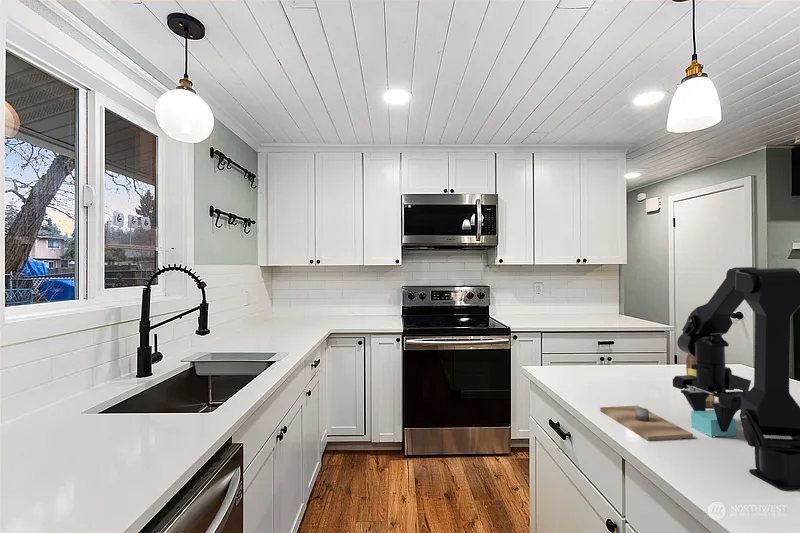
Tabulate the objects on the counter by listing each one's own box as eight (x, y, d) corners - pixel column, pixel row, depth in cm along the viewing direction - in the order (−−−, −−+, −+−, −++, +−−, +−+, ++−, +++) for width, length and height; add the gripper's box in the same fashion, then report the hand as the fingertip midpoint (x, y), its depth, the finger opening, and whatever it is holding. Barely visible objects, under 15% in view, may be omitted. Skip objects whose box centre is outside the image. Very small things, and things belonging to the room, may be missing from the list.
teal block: (735, 435, 94) (735, 418, 94) (711, 437, 94) (710, 420, 94) (714, 426, 100) (713, 410, 100) (691, 427, 100) (690, 411, 100)
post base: (693, 438, 94) (692, 423, 94) (647, 440, 93) (647, 425, 93) (637, 408, 114) (637, 396, 114) (600, 410, 113) (599, 398, 113)
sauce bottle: (719, 408, 112) (716, 337, 112) (694, 407, 113) (691, 337, 113) (706, 401, 118) (704, 333, 118) (683, 400, 119) (680, 333, 120)
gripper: (780, 370, 88) (783, 441, 88) (710, 352, 107) (712, 411, 107) (732, 372, 88) (734, 443, 87) (670, 354, 106) (672, 413, 106)
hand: (712, 426), depth 97 cm, fingers closed on teal block, 6 cm apart
